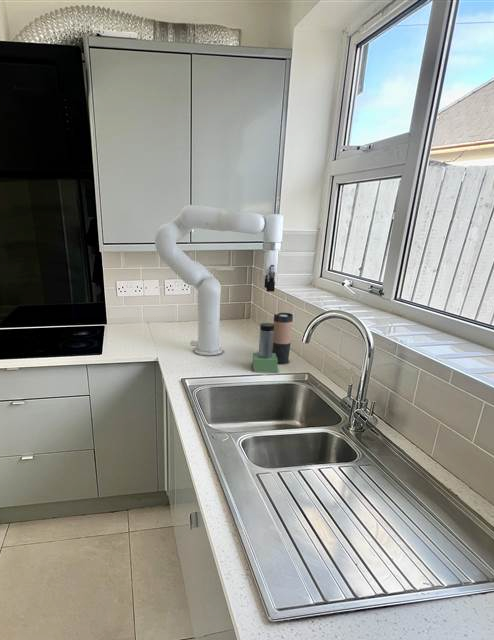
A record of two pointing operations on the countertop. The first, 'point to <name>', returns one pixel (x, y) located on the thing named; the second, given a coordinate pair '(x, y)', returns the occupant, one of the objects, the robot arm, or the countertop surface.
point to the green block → (265, 363)
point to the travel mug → (282, 336)
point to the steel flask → (266, 340)
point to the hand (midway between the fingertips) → (269, 289)
